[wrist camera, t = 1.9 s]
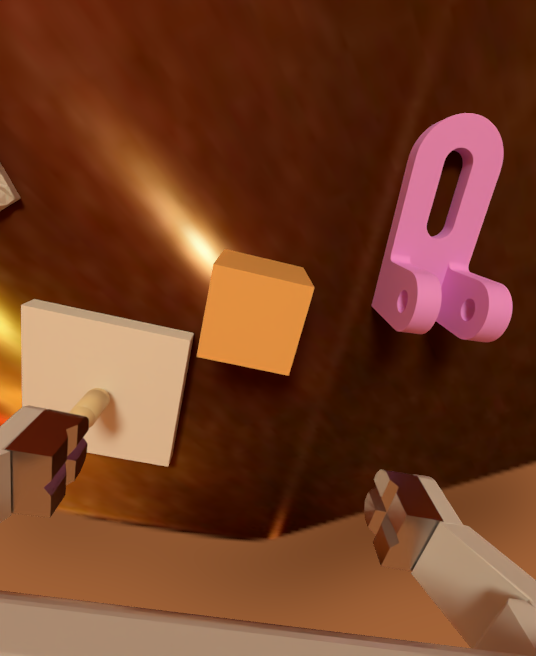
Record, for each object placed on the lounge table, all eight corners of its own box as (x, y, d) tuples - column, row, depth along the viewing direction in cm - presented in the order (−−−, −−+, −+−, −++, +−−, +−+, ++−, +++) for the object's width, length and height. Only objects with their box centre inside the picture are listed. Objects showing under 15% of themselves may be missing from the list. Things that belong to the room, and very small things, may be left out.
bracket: (440, 314, 27) (497, 352, 20) (370, 305, 27) (405, 340, 20) (502, 125, 22) (600, 95, 16) (419, 111, 22) (484, 75, 16)
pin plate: (194, 333, 27) (177, 365, 22) (172, 454, 31) (154, 505, 26) (34, 299, 26) (-23, 324, 21) (33, 429, 30) (-14, 477, 25)
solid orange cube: (303, 267, 25) (314, 287, 20) (283, 339, 27) (288, 375, 22) (224, 248, 25) (213, 263, 19) (210, 323, 27) (196, 356, 21)
